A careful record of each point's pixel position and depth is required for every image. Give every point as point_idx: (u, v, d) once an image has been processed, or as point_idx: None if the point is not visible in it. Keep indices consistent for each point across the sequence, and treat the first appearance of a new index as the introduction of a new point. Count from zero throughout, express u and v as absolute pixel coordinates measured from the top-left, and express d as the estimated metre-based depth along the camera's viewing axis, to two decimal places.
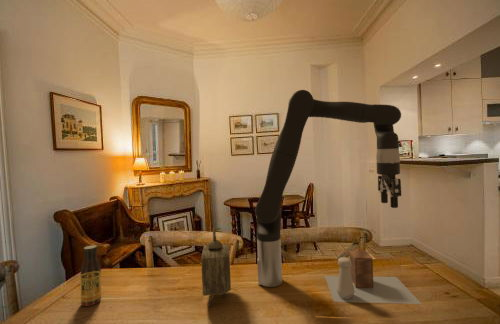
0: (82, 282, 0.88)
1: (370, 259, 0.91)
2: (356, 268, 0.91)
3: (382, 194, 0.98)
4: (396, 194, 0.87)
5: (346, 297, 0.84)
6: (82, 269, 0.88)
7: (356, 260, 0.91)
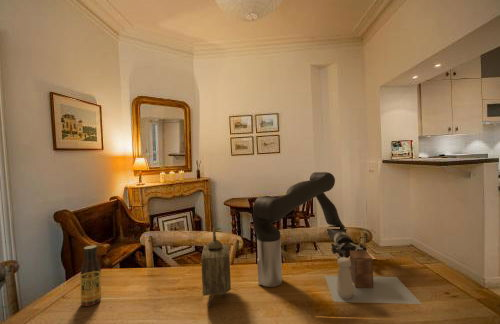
0: (82, 282, 0.88)
1: (370, 259, 0.91)
2: (356, 268, 0.91)
3: None
4: None
5: (346, 297, 0.85)
6: (82, 269, 0.88)
7: (356, 260, 0.91)
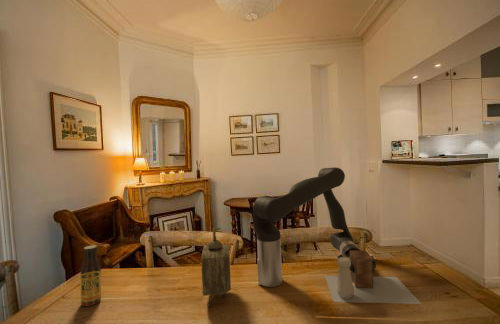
0: (82, 282, 0.88)
1: (370, 259, 0.91)
2: (356, 268, 0.91)
3: None
4: None
5: (346, 297, 0.85)
6: (82, 269, 0.88)
7: (356, 260, 0.91)
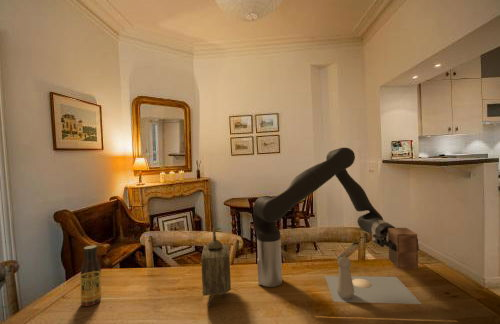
0: (82, 282, 0.88)
1: (415, 235, 0.81)
2: (398, 246, 0.81)
3: None
4: None
5: (346, 297, 0.85)
6: (82, 269, 0.88)
7: (398, 237, 0.81)
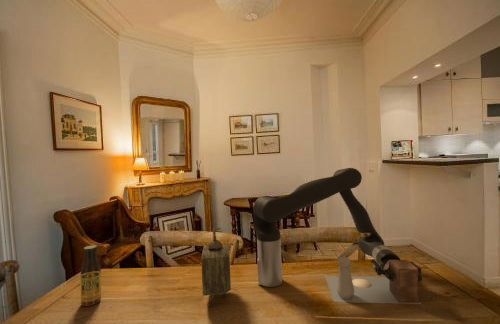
0: (82, 282, 0.88)
1: (415, 270, 0.81)
2: (399, 280, 0.82)
3: None
4: None
5: (346, 297, 0.85)
6: (82, 269, 0.88)
7: (399, 271, 0.82)
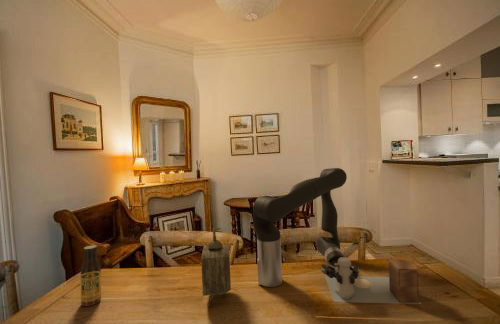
0: (82, 282, 0.88)
1: (415, 270, 0.81)
2: (399, 280, 0.82)
3: None
4: None
5: (346, 297, 0.85)
6: (82, 269, 0.88)
7: (399, 271, 0.82)
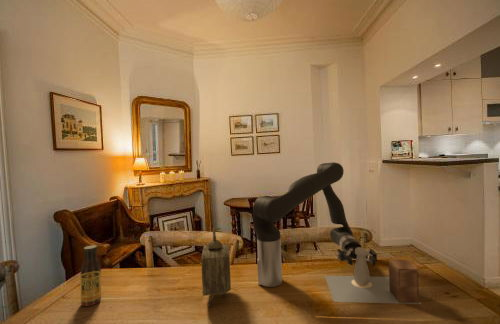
0: (82, 282, 0.88)
1: (415, 270, 0.81)
2: (399, 280, 0.82)
3: None
4: None
5: (362, 283, 0.93)
6: (82, 269, 0.88)
7: (399, 271, 0.82)
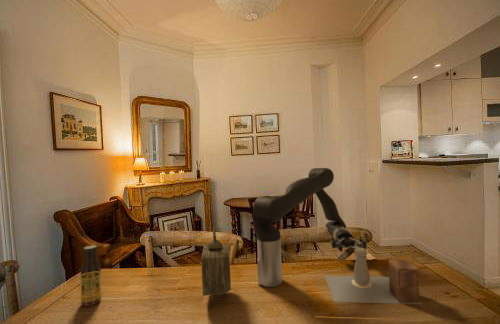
0: (82, 282, 0.88)
1: (415, 270, 0.81)
2: (399, 280, 0.82)
3: None
4: None
5: (362, 283, 0.93)
6: (82, 269, 0.88)
7: (399, 271, 0.82)
